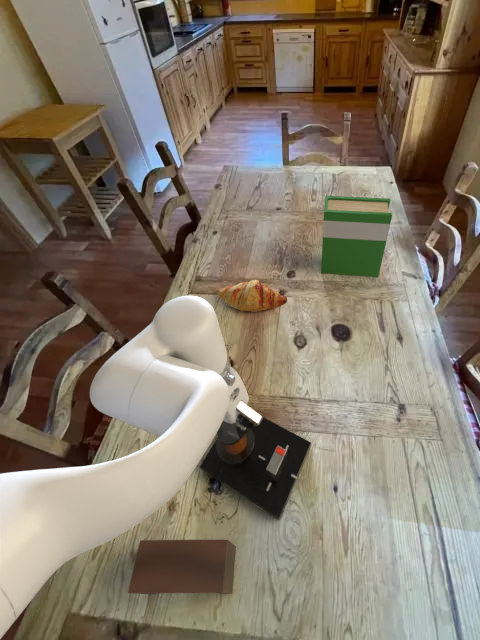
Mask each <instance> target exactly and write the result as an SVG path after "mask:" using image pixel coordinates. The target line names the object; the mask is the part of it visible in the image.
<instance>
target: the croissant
mask: <svg viewBox="0 0 480 640" xmlns="http://www.w3.org/2000/svg"><path fill="white" fill-rule="evenodd" d="M216 295H217V296H218V297H219V298H220V299H221V300H222V301H223V302H225V304H227V305H228V306H230V307H231V308H234V309H236V310H240V312H242V313H243V312H254V313H256V312H262V311H265V310H271V309H275V308H276V309H277V308H279V307H281V306H283V305H285V304H286V303H287V302H288V297H287V296H286V295H282V294H280V292H279V291H278V290H274V289H273V288H270V287H269V285H268V284H265V283H262V282H260V281H259V280H258V279H251V280H250V281H243V282H240V283H238V284H237V285H229V286H226V287H224V288H218V289H217V290H216Z"/></svg>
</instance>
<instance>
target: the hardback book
mask: <svg viewBox="0 0 480 640" xmlns="http://www.w3.org/2000/svg"><path fill="white" fill-rule="evenodd" d="M390 204H391V198H389V197H388V198H387V197H386V198H385V197H364V196H363V197H362V196H344V195H343V196H341V195H325V197H324V207H323V224H322V241H321V242H322V243H321V265H320V274H327V275H342V276H356V277H367V278H368V277H371V278H379V276H380V272H381V267H382V262H383V260H384V255H385V249H386V245H387V241H388V236H389V231H390V228H391V224H392V223H391V222H392V219H393V212H389V209H390Z"/></svg>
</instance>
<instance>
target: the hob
mask: <svg viewBox="0 0 480 640" xmlns="http://www.w3.org/2000/svg"><path fill="white" fill-rule="evenodd" d="M242 416H243V415H242V414H239V416H238V418H239V419H240V420H241V418H242ZM262 417H263V419H262V421H261V422H260V424H259V426H256V427H254V429H252V428H251V429H252V431H253V434H254V438H255V444H254V448H253V451H252V453H251V455H250V456H249V457H248V458H247V459H246V460H245V461H243V462H241V463H239V464H227V463H225V462H224V461H222V460H221V459H220V457H219V456H218V454H217V451H216V440H217V438H216V439H215V441H214V443H213V444H212V445H211V447H210V449H209V451H208V452H207V454H206V455H205V458H204V459H203V461H202V462H201V464H200V465H199V469H200V470H201V471H202V472H203V473H204V474H206V475H208V476H209V477H211V478H213V479H214V480H216V481H217V482H219V483H220V484H222V485H223V486H225V487H226V488H228V489H230V490H231V491H232V492H234V493H236V494H237V495H238V496H241V497H242V498H244V499H245V500H247V501H248V502H250V503H251V504H253V505H255V506H256V507H258V508H260V510H263V511H264V512H265V513H267V514H268V515H270V516H271V517H273V518H275V519H276V520H278V521H281V519H282V517H283V514H284V512H285V510H286V507H287V505H288V502H289V500H290V498H291V495H292V493H293V491H294V488H295V485H296V483H297V481H298V479H299V477H300V474H301V471H302V468H303V467H304V465H305V462H306V460H307V457H308V455H309V452H310V449H311V447H312V442H311V441H309V440H308V439H306V438H303V437H302V436H300V435H298V434H296V433H294V432H292V431H290V430H289V429H287V428H285V427H283V426H281V425H279V424H277V423H276V422H273V421H271V420H270V419H268V418H266V417H264V416H262ZM277 446H280V447H281V448H283V449H285V450H287V458H288V459H287V461H286V463H285V465H284V467H283V470H282V472H281V474H280V476H279V478H278V481H275V480H273V479H272V478H270V477H268V474H267V471H266V468H267V466H268V464H269V462H270V460H271V458H272V456H273V454H274V452H275V450H276V447H277Z"/></svg>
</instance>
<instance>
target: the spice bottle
mask: <svg viewBox="0 0 480 640" xmlns="http://www.w3.org/2000/svg"><path fill="white" fill-rule="evenodd" d="M237 419H238V420H239V421H240V419H239V418H237ZM236 427H237V426H236V425H235V424H234V423H233V424H230V423H227V422H225V421H223V422H222V424H221V426H220V428H219V430H218V432H217V434H216V435H217V437H218V438H219V440H220V441H221V443H222V444H223V446H224V448H225V450H226V451H227V452H228V453H229V454H232V455H236V454H239V453H241V452H242V451H243V450H244V448H245V447H246V444H247V437H246V434H245V435H244V437H243V438H240V437H239V435H238V433H237V430H236Z"/></svg>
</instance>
